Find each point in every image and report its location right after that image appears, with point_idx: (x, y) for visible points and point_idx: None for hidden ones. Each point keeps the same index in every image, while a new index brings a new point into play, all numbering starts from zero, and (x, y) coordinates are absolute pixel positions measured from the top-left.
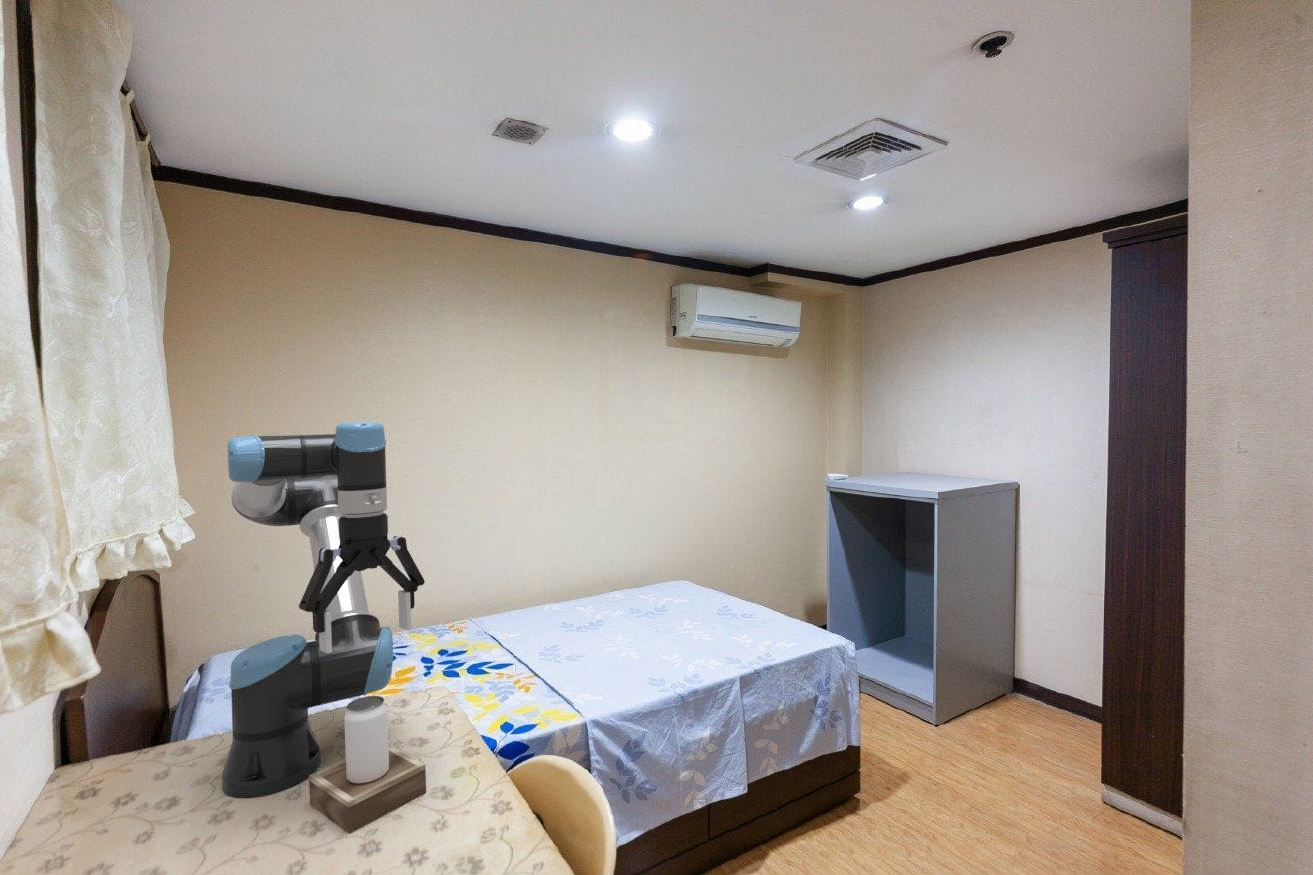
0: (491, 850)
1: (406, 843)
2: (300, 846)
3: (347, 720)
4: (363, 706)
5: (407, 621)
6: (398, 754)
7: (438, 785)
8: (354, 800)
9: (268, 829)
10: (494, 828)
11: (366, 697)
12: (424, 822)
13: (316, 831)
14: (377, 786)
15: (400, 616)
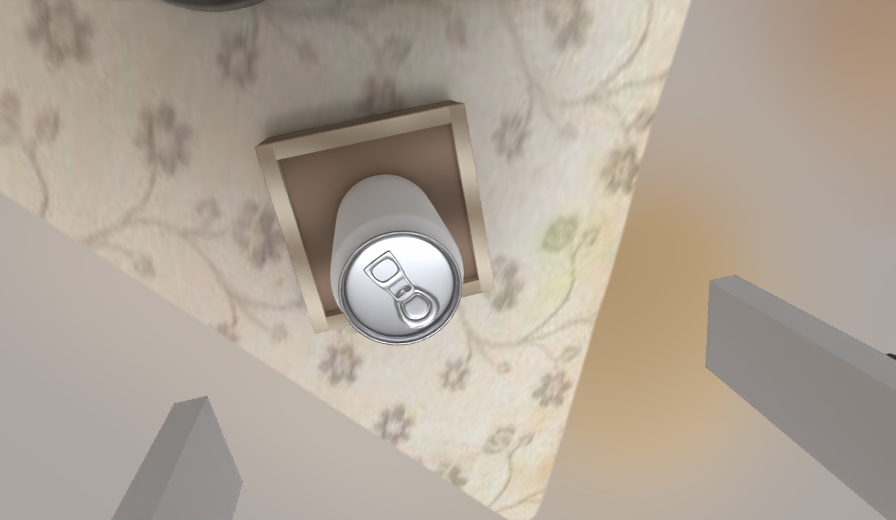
0: (485, 471)
1: (393, 388)
2: (232, 285)
3: (334, 297)
4: (391, 295)
5: (747, 398)
6: (467, 200)
7: (508, 255)
8: (328, 329)
9: (174, 179)
10: (514, 431)
11: (420, 236)
12: (438, 353)
13: (265, 255)
14: None
15: (767, 334)
